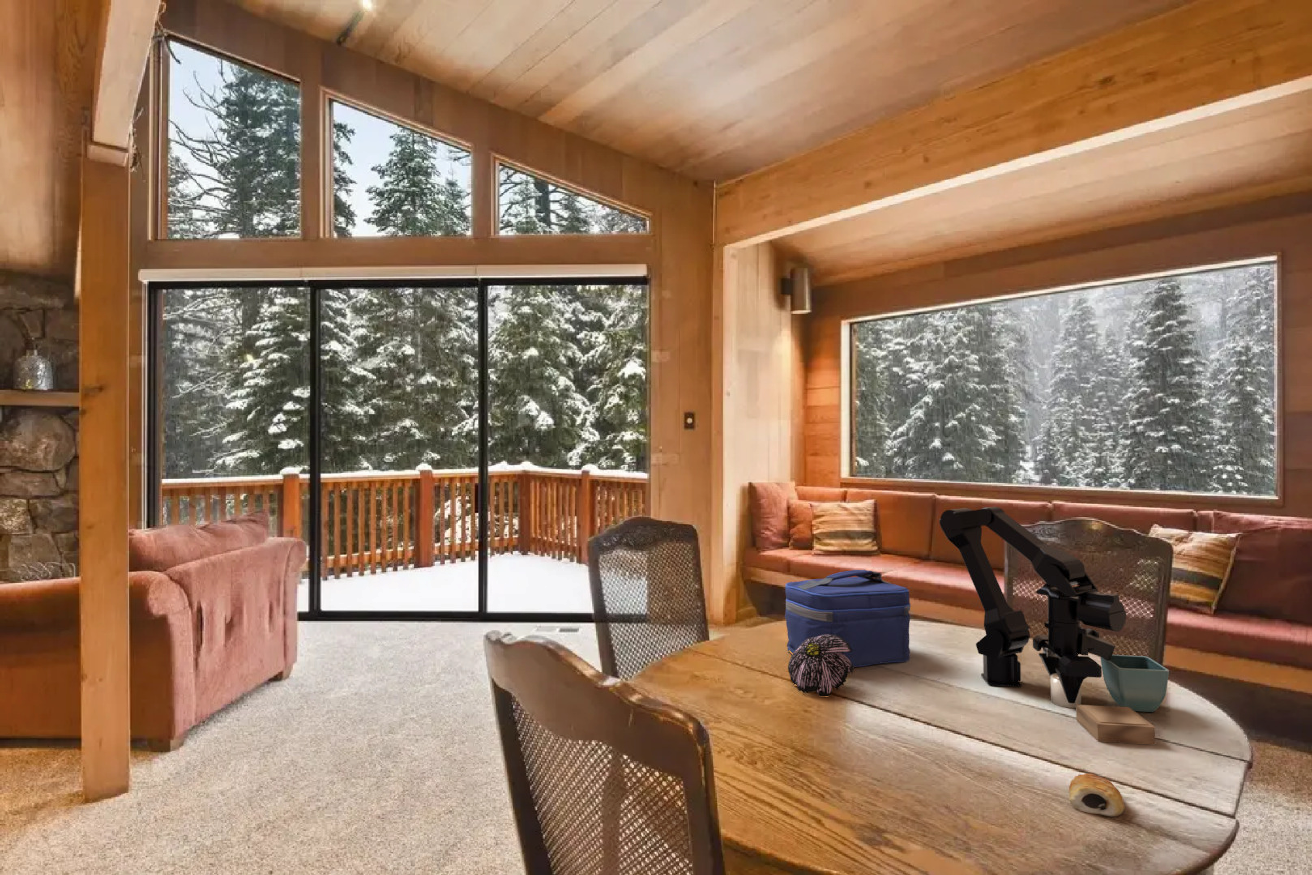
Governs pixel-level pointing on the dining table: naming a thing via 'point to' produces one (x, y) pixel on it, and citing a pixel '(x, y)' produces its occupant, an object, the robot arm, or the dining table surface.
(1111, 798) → the pastry
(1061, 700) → the jar
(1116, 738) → the stand
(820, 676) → the decorative flower
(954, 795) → the dining table surface
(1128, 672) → the flower pot
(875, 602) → the lunch bag
